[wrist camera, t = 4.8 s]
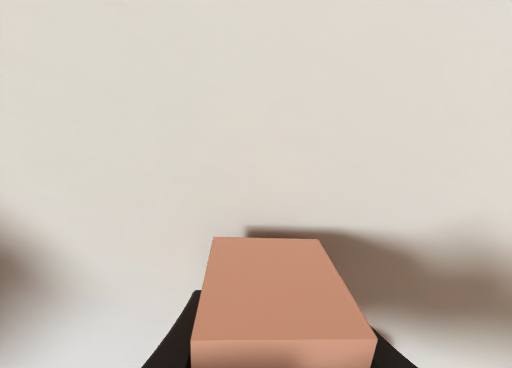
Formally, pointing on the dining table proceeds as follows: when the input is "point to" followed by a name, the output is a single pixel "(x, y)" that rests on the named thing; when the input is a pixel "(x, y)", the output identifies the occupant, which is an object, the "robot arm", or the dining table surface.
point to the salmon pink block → (277, 309)
